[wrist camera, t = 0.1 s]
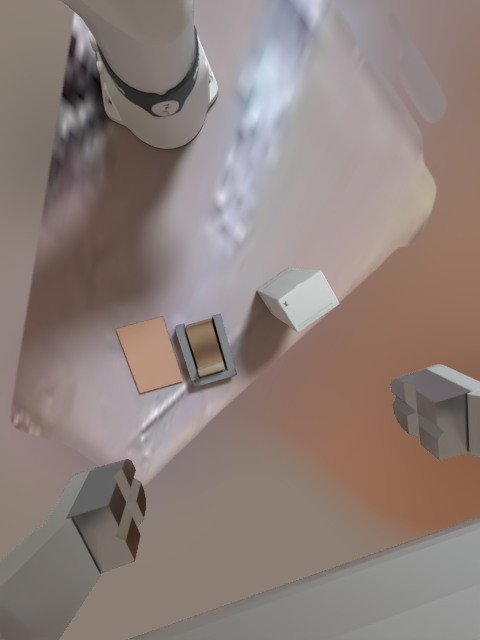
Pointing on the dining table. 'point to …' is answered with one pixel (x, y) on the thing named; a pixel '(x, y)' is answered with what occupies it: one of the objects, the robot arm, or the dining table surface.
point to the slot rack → (190, 358)
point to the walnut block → (205, 347)
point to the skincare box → (298, 297)
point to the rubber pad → (150, 354)
